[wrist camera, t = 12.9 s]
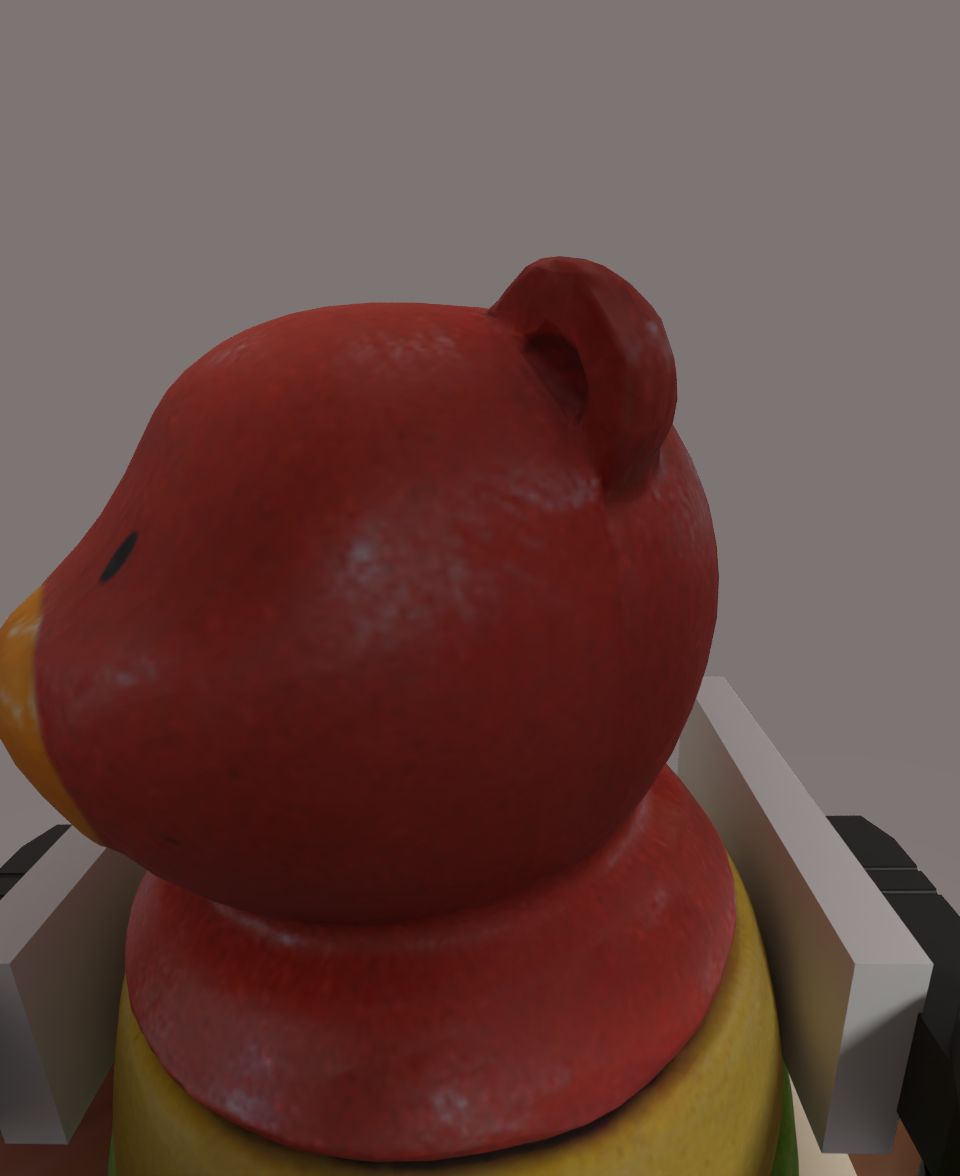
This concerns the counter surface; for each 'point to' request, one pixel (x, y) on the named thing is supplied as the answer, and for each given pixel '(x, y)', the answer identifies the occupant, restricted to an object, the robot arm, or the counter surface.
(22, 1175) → the counter surface
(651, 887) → the stacking bear
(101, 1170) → the counter surface
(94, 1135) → the counter surface
